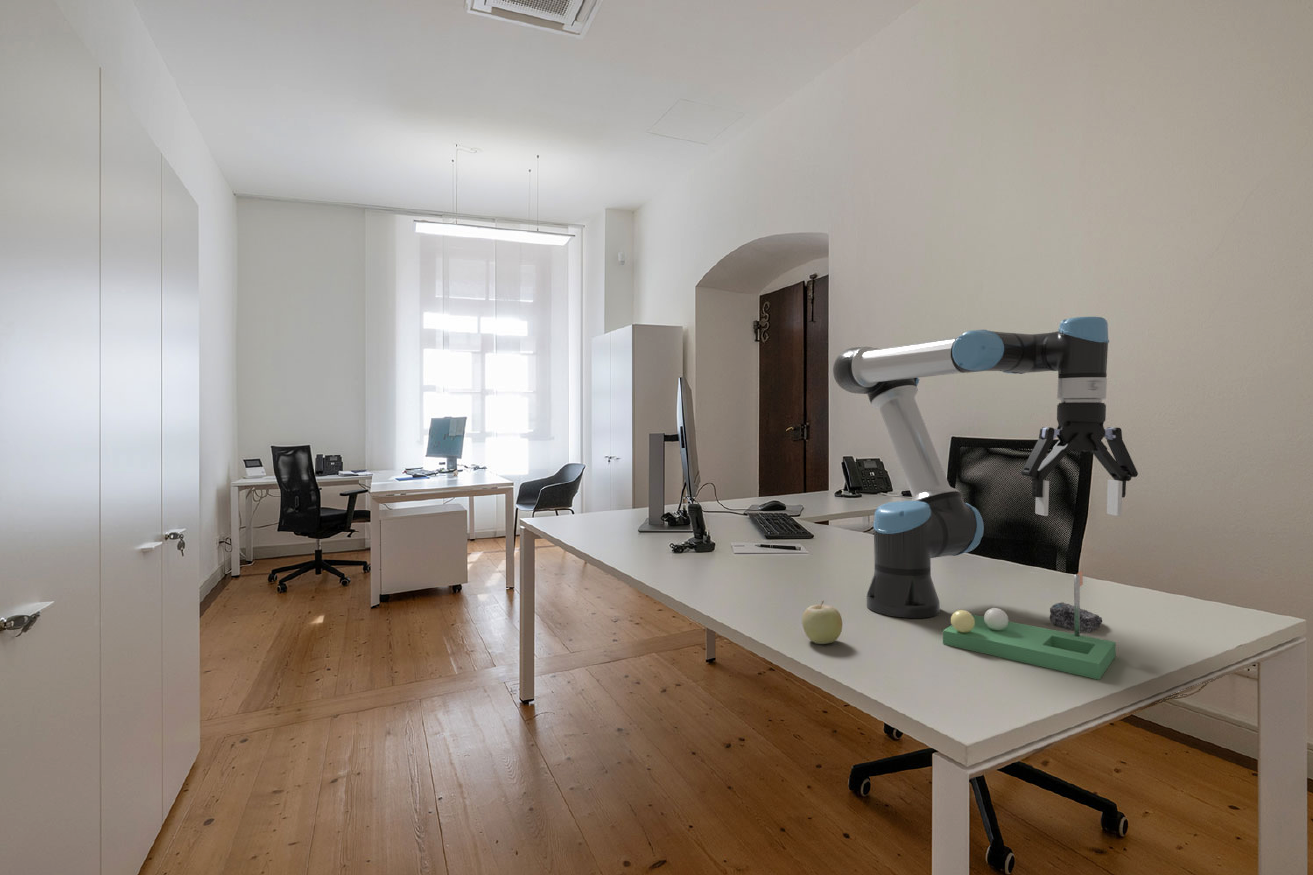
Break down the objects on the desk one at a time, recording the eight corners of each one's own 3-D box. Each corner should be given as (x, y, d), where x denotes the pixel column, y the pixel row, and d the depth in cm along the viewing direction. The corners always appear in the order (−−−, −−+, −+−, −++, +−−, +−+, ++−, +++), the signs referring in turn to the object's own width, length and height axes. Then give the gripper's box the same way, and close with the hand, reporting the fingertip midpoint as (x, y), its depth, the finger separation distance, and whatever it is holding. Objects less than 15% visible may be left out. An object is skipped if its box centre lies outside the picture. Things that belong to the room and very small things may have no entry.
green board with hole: (942, 643, 116) (942, 630, 116) (969, 626, 125) (969, 613, 125) (1099, 679, 99) (1099, 663, 99) (1115, 656, 108) (1115, 641, 108)
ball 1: (947, 632, 114) (947, 610, 114) (955, 627, 117) (955, 606, 117) (970, 637, 112) (970, 615, 112) (978, 631, 114) (978, 610, 114)
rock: (1109, 625, 126) (1109, 604, 126) (1086, 635, 120) (1086, 613, 120) (1068, 616, 132) (1068, 596, 132) (1044, 624, 127) (1044, 604, 127)
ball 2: (980, 629, 116) (980, 608, 115) (988, 625, 118) (987, 604, 118) (1004, 634, 113) (1004, 612, 113) (1011, 629, 116) (1011, 608, 115)
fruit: (849, 647, 115) (849, 603, 114) (812, 649, 113) (811, 606, 113) (831, 633, 122) (831, 593, 122) (795, 636, 121) (795, 595, 121)
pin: (1073, 635, 112) (1073, 574, 112) (1079, 630, 115) (1079, 570, 115) (1079, 636, 111) (1079, 575, 111) (1084, 631, 114) (1084, 571, 114)
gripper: (1026, 401, 112) (1023, 518, 113) (1164, 401, 112) (1160, 518, 113) (1003, 401, 119) (1000, 511, 120) (1132, 401, 119) (1128, 511, 120)
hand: (1077, 515), depth 117 cm, fingers open, 13 cm apart
